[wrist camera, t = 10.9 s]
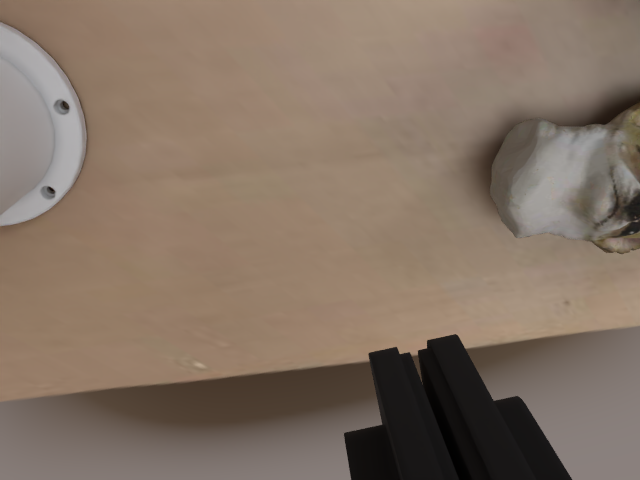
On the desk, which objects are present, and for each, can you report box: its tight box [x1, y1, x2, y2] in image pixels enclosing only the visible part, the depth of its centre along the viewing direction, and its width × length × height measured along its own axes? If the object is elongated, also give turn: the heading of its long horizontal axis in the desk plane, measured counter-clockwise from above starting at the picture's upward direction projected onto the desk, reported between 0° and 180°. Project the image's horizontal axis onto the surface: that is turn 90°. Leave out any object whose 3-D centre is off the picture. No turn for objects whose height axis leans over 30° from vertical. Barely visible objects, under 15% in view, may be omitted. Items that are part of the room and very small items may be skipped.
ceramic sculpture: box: [490, 102, 640, 254], centre depth 34 cm, size 11×9×15 cm
